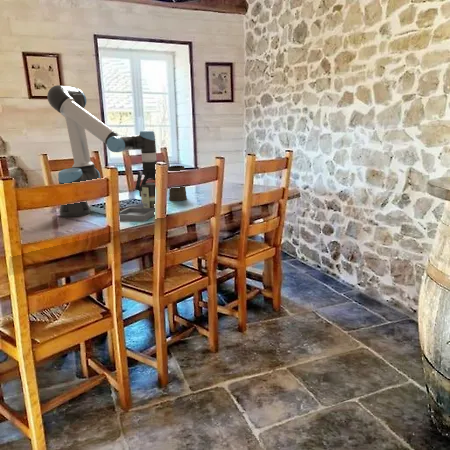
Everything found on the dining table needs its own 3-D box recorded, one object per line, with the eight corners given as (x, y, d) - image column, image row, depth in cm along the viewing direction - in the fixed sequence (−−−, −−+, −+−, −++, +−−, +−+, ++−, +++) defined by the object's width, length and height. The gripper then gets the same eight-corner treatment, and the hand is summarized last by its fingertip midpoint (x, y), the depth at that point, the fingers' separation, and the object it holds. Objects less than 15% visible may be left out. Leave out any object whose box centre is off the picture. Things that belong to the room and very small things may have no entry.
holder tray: (114, 220, 190) (113, 214, 189) (129, 212, 205) (128, 207, 204) (144, 221, 186) (144, 215, 186) (157, 213, 201) (157, 208, 201)
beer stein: (188, 200, 232) (186, 166, 227) (170, 201, 230) (168, 167, 224) (184, 196, 247) (182, 164, 241) (167, 197, 244) (165, 165, 239)
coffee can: (165, 207, 214) (163, 182, 211) (158, 212, 204) (156, 185, 201) (147, 207, 216) (145, 182, 213) (140, 211, 207) (138, 185, 203)
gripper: (172, 160, 205) (175, 201, 210) (132, 160, 210) (136, 201, 215) (167, 161, 198) (170, 204, 203) (126, 161, 203) (130, 203, 208)
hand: (152, 202), depth 209 cm, fingers closed on coffee can, 10 cm apart
